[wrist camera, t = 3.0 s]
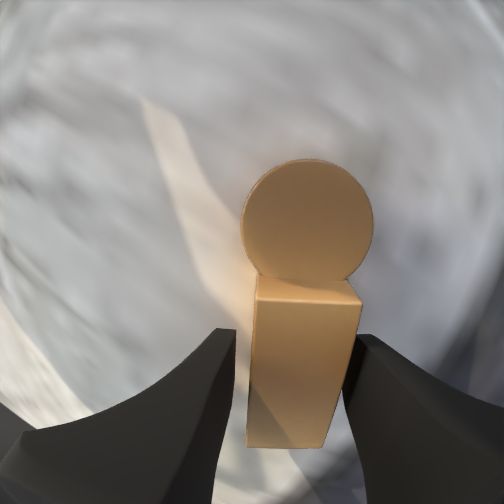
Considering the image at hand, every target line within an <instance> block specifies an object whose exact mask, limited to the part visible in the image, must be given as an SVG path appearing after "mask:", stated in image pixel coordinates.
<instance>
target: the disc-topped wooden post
mask: <svg viewBox="0 0 504 504" xmlns="http://www.w3.org/2000/svg"><path fill="white" fill-rule="evenodd" d="M373 226H374V223H373V213H372V208H371V205H370V202H369V199H368V197H367V195H366V193H365V191H364V189H363V188H362V186H361V185H360V184H359V183H358V181H357V180H356V179H355V178H354V177H353V176H352V175H351V174H349V173H348V172H347V171H345V170H344V169H342V168H341V167H339V166H337V165H335V164H333V163H330V162H326V161H323V160H317V159H300V160H294V161H290V162H287V163H284V164H282V165H279V166H277V167H275V168H273V169H271V170H270V171H268V172H267V173H266V174H265V175H263V176H262V177H261V178H260V179H259V180H258V182H257V183H256V184H255V186H254V187H253V188H252V190H251V192H250V193H249V195H248V197H247V199H246V202H245V204H244V207H243V211H242V216H241V237H242V242H243V246H244V249H245V251H246V254H247V256H248V258H249V259H250V261H251V263H252V264H253V266H254V267H255V268H256V269H257V279H256V291H255V304H254V320H253V335H252V351H251V366H250V381H249V395H248V410H247V424H246V438H245V446H246V447H251V448H274V449H308V448H322V446H323V444H324V441H325V438H326V435H327V433H328V430H329V427H330V424H331V421H332V418H333V415H334V412H335V409H336V406H337V403H338V399H339V396H340V393H341V390H342V386H343V383H344V379H345V376H346V372H347V369H348V365H349V361H350V358H351V354H352V350H353V346H354V342H355V338H356V334H357V329H358V325H359V321H360V316H361V311H362V307H363V302H362V301H361V299H360V298H359V296H358V295H357V293H356V292H355V290H354V289H353V288H352V286H351V285H350V283H349V282H348V280H347V279H346V278H347V277H349V276H350V275H351V274H352V273H353V272H354V271H355V270H356V269H357V268H358V267H359V265H360V264H361V263H362V261H363V259H364V258H365V256H366V254H367V252H368V250H369V247H370V244H371V241H372V236H373Z"/></svg>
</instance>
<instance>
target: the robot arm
mask: <svg viewBox="0 0 504 504" xmlns="http://www.w3.org/2000/svg"><path fill="white" fill-rule="evenodd" d="M235 352H236V330H233V329H221V328H216V329H215V330H214V331H213V332H212V333H211V334H210V335H209V336H208V337H207V338H206V339H205V340H204V341H203V342H202V343H201V345H200V346H199V347H198V348H197V349H196V350H195V351H193V352H192V353H191V354H190V355H189V356H188V357H187V358H186V359H185V360H184V361H183V362H182V363H180V364H179V365H178V366H177V367H176V368H174V369H173V370H172V371H171V372H169V373H168V374H167V375H166V376H164V377H163V378H162V379H160V380H159V381H158V382H156V383H155V384H153V385H152V386H150V387H149V388H147V389H146V390H144V391H142V392H141V393H139V394H137V395H135V396H134V397H132V398H130V399H128V400H126V401H123V402H121V403H119V404H117V405H115V406H113V407H111V408H109V409H107V410H104V411H102V412H99V413H97V414H94V415H91V416H89V417H85V418H82V419H79V420H76V421H73V422H69V423H66V424H62V425H57V426H52V427H48V428H42V429H37V430H32V431H25V432H23V433H22V434H21V435H20V437H19V438H18V439H17V441H16V442H15V443H14V445H13V446H12V448H11V449H10V450H9V452H8V453H7V454H6V455H5V457H4V458H3V460H2V461H1V462H0V485H1V486H2V487H3V489H4V490H5V491H6V492H7V493H8V494H9V495H10V496H11V497H12V498H13V499H14V500H15V501H16V502H17V503H18V504H211V501H212V494H213V486H214V479H215V472H216V467H217V462H218V458H219V454H220V450H221V446H222V442H223V438H224V434H225V431H226V427H227V423H228V419H229V414H230V410H231V406H232V398H233V390H234V381H235ZM342 394H343V400H344V406H345V410H346V414H347V417H348V420H349V424H350V427H351V430H352V434H353V437H354V440H355V443H356V447H357V450H358V453H359V457H360V460H361V464H362V469H363V474H364V481H365V488H366V496H367V504H504V408H502V407H499V406H495V405H493V404H490V403H487V402H484V401H482V400H479V399H476V398H474V397H472V396H469V395H467V394H465V393H463V392H461V391H459V390H457V389H455V388H453V387H451V386H449V385H447V384H445V383H443V382H442V381H440V380H438V379H437V378H435V377H433V376H432V375H430V374H429V373H427V372H425V371H424V370H422V369H421V368H419V367H418V366H416V365H415V364H413V363H412V362H411V361H409V360H408V359H406V358H405V357H404V356H402V355H401V354H399V353H398V352H397V351H395V350H394V349H392V348H391V347H390V346H388V345H387V344H385V343H384V342H383V341H381V340H380V339H378V338H377V337H375V336H373V335H371V334H356V338H355V342H354V346H353V350H352V354H351V358H350V361H349V365H348V369H347V372H346V376H345V379H344V383H343V386H342Z"/></svg>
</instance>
